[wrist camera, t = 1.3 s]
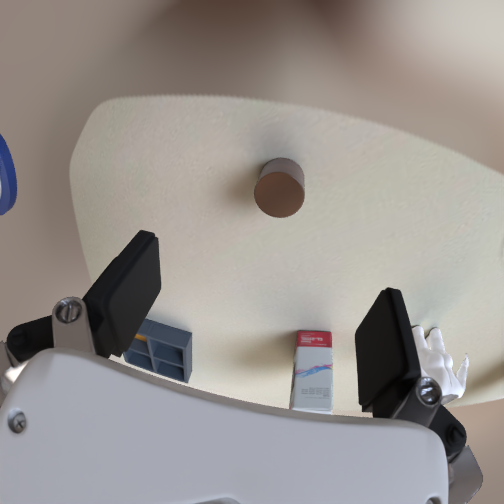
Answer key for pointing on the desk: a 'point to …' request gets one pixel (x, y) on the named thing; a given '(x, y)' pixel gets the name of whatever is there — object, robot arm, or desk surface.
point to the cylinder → (280, 188)
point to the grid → (162, 350)
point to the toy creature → (439, 364)
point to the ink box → (312, 373)
